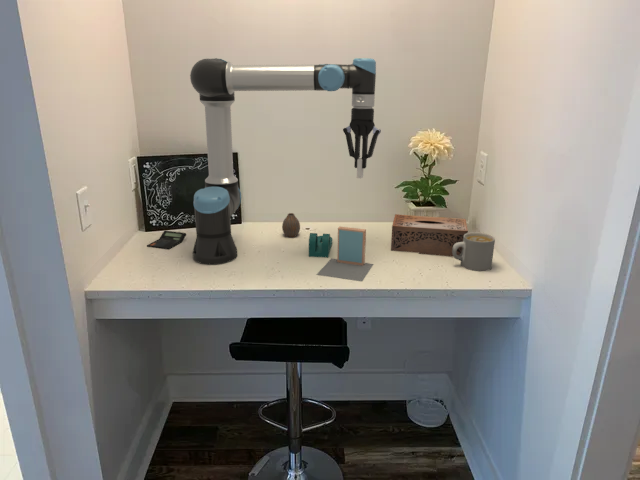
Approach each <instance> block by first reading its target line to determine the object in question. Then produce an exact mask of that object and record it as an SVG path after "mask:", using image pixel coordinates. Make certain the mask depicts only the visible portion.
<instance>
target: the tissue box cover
mask: <svg viewBox="0 0 640 480" xmlns="http://www.w3.org/2000/svg"><path fill="white" fill-rule="evenodd" d="M466 233H469V229H468V225H467V219H466V218H458V217H456V218H455V217H442V216H425V215H424V216H423V215H413V214H412V215H411V214H396V213H395V214H394V217H393V222H392V225H391V240H390V241H391V243H390V251H393V252H406V253H418V254H419V255H429V256H441V257H451V258H454V257H453V255H452V248H453V246H454V244H455V243H458V242H463V236H464V235H465V234H466ZM461 252H462V247H459V248H458V249H457V251H456V254H457V255H460V254H461Z"/></svg>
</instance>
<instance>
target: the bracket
mask: <svg viewBox="0 0 640 480" xmlns="http://www.w3.org/2000/svg"><path fill="white" fill-rule="evenodd" d="M332 246H333V237H332V236H331V234H330V233H322V235H318V233H315V232H310V233H309V237H308V257H309V258H310V257H312V258H329V256H330V252H331V249H332Z"/></svg>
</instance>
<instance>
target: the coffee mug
mask: <svg viewBox="0 0 640 480" xmlns="http://www.w3.org/2000/svg"><path fill="white" fill-rule="evenodd" d="M495 243H496V238H495V237H494V236H493V235H491V234H488V233H484V232H476V231H475V232H474V231H473V232H468V233H466V234H465V235H464V236H463V242H458V243H455V244H454V246H453V248H452V255H453V257H452V258H454V259H456V260H458V261H460V266H461V267H462V268H464V269H467V270H470V271H474V272H477V271H478V272H486V271H489V270H491V269H492V266H493V264H492V263H493V258H494V257H493V256H494V250H495ZM459 247H462V252H461V254H460V255H457V254H456V251H457V249H458V248H459Z"/></svg>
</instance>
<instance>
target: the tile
mask: <svg viewBox="0 0 640 480" xmlns="http://www.w3.org/2000/svg"><path fill="white" fill-rule="evenodd" d="M366 239H367V229H365V228H355V227H348V226H339V227H338V228H337V258H336V259H337V262H341V263H348V264H355V265H364V264H365V263H366V260H365V259H366V241H367V240H366Z"/></svg>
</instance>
